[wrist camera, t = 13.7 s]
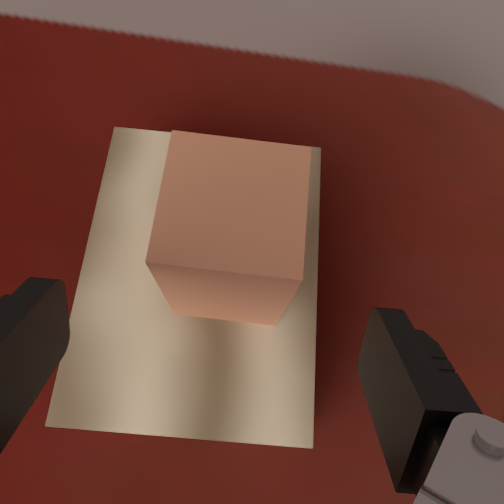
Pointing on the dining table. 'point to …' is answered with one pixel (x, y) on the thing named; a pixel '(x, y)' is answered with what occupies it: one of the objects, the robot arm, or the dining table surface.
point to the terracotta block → (230, 227)
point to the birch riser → (178, 331)
